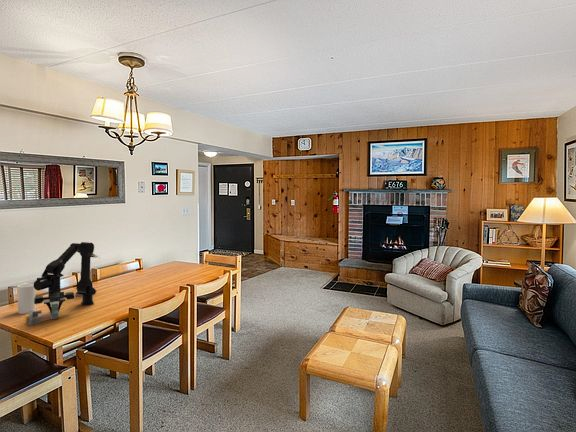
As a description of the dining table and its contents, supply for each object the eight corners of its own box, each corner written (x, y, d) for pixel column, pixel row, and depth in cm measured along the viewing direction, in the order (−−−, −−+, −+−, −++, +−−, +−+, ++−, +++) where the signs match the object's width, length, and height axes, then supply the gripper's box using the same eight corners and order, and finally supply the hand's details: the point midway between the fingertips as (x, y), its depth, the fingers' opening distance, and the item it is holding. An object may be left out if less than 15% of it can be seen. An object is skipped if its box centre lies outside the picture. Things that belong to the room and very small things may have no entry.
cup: (26, 314, 198) (25, 287, 197) (14, 313, 199) (13, 286, 198) (39, 309, 206) (38, 283, 205) (27, 308, 207) (26, 282, 206)
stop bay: (29, 315, 196) (29, 310, 196) (41, 313, 199) (41, 308, 199) (28, 326, 182) (28, 320, 181) (41, 324, 185) (41, 318, 184)
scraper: (50, 312, 199) (50, 302, 199) (57, 311, 201) (57, 301, 201) (51, 319, 190) (51, 308, 189) (58, 317, 192) (58, 307, 191)
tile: (37, 318, 193) (37, 313, 193) (50, 316, 197) (50, 311, 197) (38, 321, 189) (37, 317, 188) (51, 319, 192) (51, 315, 192)
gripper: (33, 291, 182) (34, 320, 183) (74, 286, 193) (75, 313, 194) (34, 286, 191) (34, 313, 192) (73, 282, 202) (73, 307, 203)
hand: (54, 312), depth 195 cm, fingers closed on scraper, 3 cm apart
